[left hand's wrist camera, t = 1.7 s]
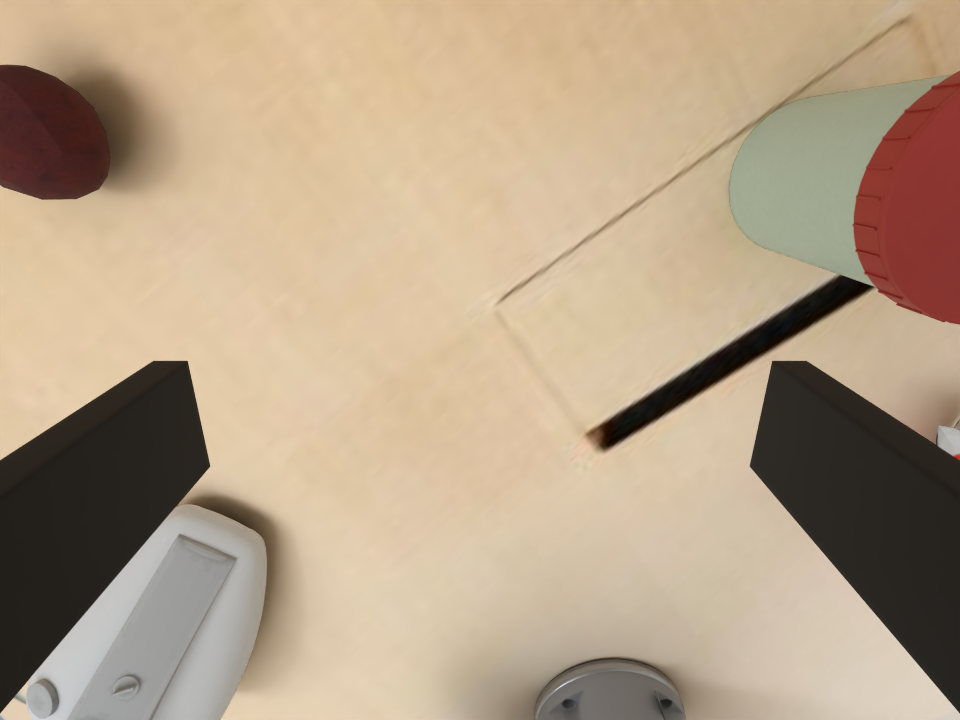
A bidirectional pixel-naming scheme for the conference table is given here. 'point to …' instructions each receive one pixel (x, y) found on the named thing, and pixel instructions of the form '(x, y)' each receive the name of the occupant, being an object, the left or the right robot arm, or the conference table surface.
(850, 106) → the jar
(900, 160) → the lid
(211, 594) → the projector
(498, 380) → the conference table surface
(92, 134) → the potato
